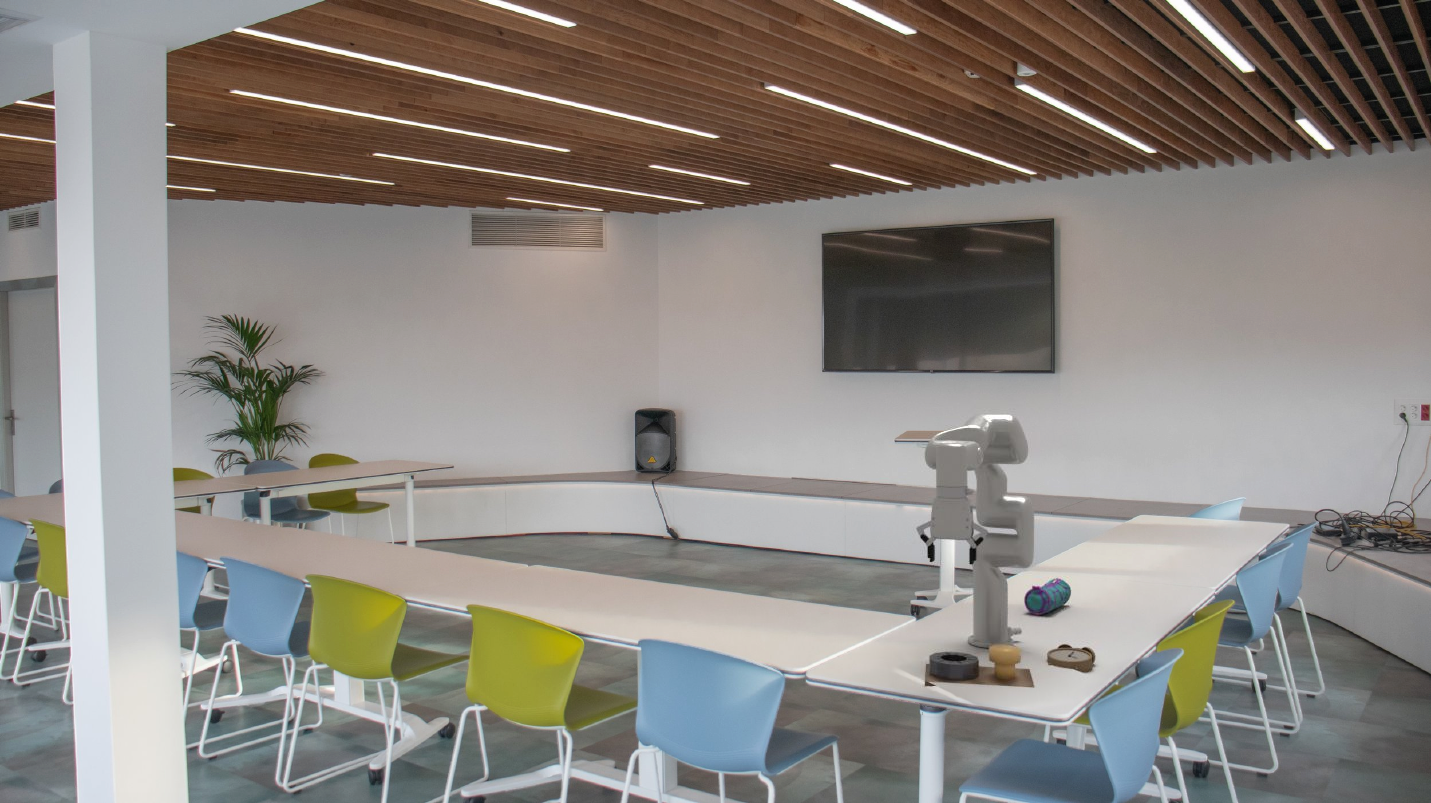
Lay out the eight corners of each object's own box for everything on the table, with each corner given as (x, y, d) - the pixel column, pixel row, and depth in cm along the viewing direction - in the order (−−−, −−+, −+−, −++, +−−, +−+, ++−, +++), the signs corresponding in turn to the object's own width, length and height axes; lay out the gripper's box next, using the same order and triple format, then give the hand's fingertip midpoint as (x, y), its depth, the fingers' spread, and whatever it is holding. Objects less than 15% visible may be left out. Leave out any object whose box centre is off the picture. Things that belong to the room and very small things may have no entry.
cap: (1007, 670, 266) (1007, 643, 265) (1027, 678, 259) (1027, 650, 258) (982, 674, 263) (982, 646, 263) (1001, 682, 256) (1001, 653, 256)
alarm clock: (1040, 658, 272) (1059, 636, 283) (1041, 675, 272) (1060, 653, 284) (1084, 665, 265) (1101, 642, 277) (1085, 683, 266) (1102, 659, 277)
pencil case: (1045, 603, 350) (1045, 574, 350) (1071, 606, 345) (1071, 577, 344) (1022, 614, 333) (1022, 584, 333) (1050, 618, 328) (1050, 588, 328)
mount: (1029, 673, 267) (1029, 668, 267) (1034, 692, 251) (1034, 687, 251) (926, 668, 273) (926, 663, 273) (924, 685, 257) (924, 681, 257)
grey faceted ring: (959, 664, 271) (959, 649, 271) (988, 677, 260) (988, 661, 260) (920, 670, 267) (920, 654, 266) (947, 682, 255) (947, 666, 255)
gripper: (989, 492, 257) (989, 562, 257) (919, 490, 263) (919, 558, 264) (985, 496, 250) (985, 567, 250) (913, 493, 256) (913, 562, 257)
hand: (951, 562), depth 257 cm, fingers open, 9 cm apart
